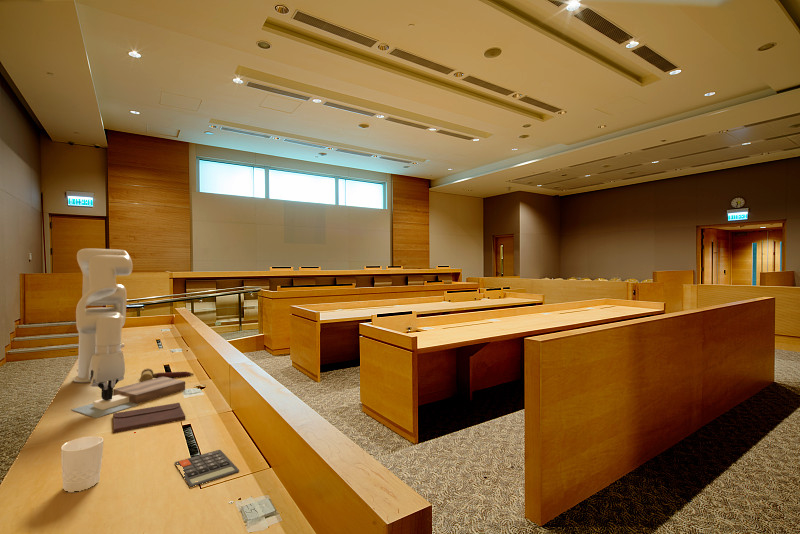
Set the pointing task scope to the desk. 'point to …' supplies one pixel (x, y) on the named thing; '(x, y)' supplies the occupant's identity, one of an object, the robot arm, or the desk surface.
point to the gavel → (161, 374)
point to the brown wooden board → (150, 389)
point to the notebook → (147, 417)
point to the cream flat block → (111, 402)
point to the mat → (97, 412)
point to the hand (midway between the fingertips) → (107, 399)
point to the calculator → (207, 467)
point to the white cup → (81, 463)
